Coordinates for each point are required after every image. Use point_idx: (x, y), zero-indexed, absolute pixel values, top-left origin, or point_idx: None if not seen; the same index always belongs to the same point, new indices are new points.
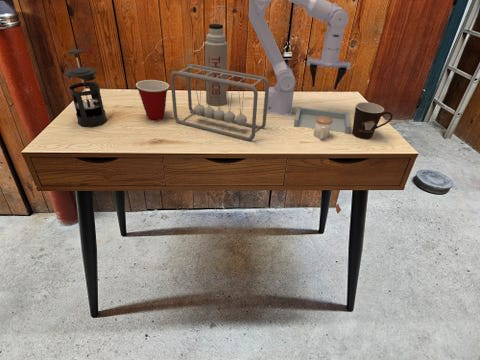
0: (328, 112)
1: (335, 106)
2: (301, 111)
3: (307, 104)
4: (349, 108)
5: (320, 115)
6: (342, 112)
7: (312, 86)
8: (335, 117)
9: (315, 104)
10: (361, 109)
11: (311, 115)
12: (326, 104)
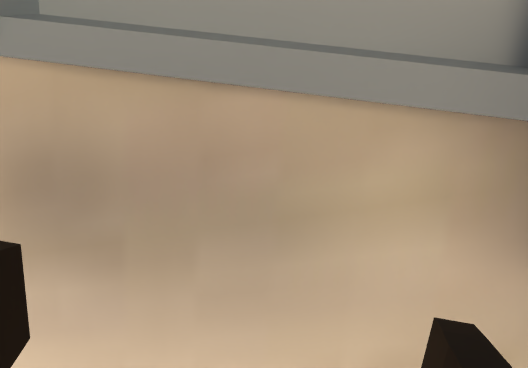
0: (188, 36)
1: (127, 328)
2: (525, 71)
3: (388, 349)
4: None
5: (283, 40)
6: (31, 58)
7: (478, 333)
8: (121, 25)
9: (307, 355)
10: None
11: (387, 47)
12: (205, 362)
